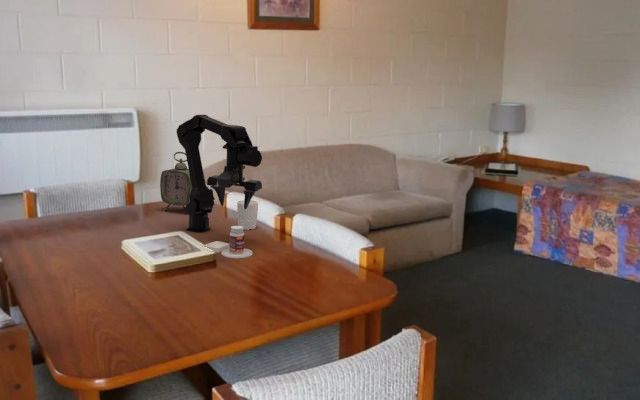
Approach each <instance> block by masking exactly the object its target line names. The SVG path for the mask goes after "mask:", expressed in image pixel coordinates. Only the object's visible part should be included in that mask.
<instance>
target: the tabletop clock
mask: <svg viewBox="0 0 640 400" xmlns="http://www.w3.org/2000/svg"><path fill="white" fill-rule="evenodd" d="M178 154H183V155H184V156H186V152H183V151H176V152H175V153H173V159H174V160H175V161H176V162H177V163H176V164H175V166H174V168H171V169H166V170H163V171H162V172H161V174H160V183H159V184H160V185H159V187H160V188H159V191H160V198H161V200H162V202H164V203H165V204H168V205H167V206H166V207H164V211H166V212H167V211H169V208H170V206H172V205H173V206H180V207H181V206H182V208H181V209H182V211H185V207H186V206H187V205H188V203H189V202H190V193H191V190H192V184H191V178H190V173H189V168H188V165H187V164H186V162H187V159H184V160H183V158H179V159H177V158H176V155H178Z"/></svg>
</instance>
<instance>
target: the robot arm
mask: <svg viewBox="0 0 640 400" xmlns="http://www.w3.org/2000/svg"><path fill="white" fill-rule="evenodd" d="M206 130H207V131H209V132H211V133H214V134H216V135H218V136H220V138H221V140H222V141H223V142H225V144H224V145H222V149H225V150H226V165H225V166H224V168H223V172H221V173H220V174H217V175H212V176H208V178H207V180H206V178H205V175H204V169H203V163H202V158H201V153H200V148H199V147H200V144H201V142H202V134H203V133H204V132H205V131H206ZM176 136H177V140H178V143H179V144H180V145H181V146H182V148H183V149H184V151H185V152H184V153H186V155H185V156H186V157H185V158H186V160H187V161H186V162H187V169H189V173H190V178H191V184H192V190H191V193H190V202H189V203H188V205H187V206H186V205H185V206H184V207H185V210H184V213H185V215H188V227H187V228H186V231H191V232H197V233H203V232H205V231H208V230H210V229H211V227H210V217H209V214H212V211H213V207H214V205H215V200H216V199H215V197H214V191H215V193H216V195H217V198H218V201H219V204H220V206H221V207H223V206H224V205H225V195H226V188H227V189H229V188H231V187H232V186H236V187H242V188H244V190H243V194H244V199H243V200H244V209H247V207H248V205H249V203H250V201H251V200H252V199H253V197H254V195H255V193H256V192H259V190H262V188H263V184H262V181H261V180H257V179H249V180H247V181H246V180H245V178H246V177H244V169H246V166H248V167H254V168H256V167H259V166H260V165H261V164H262V161H263V156H262V152H261V151H260V150H258V148H259V147H258V146H256V145H255V146H254V145H253V143H252V140H251V139H250V135H249V134H248V131H247V128H246V127H245V126H243V125H237V124H236V125H234V124H227V123H224V122H222V121H220V120H217V119H215V118H214V117H211V116H209V115H207V114H195V115H194V116H192V117H191V118H190V119H188V120H186V121H184V122H183V123H181V124H179V125H178V127H177V128H176ZM208 186H209V187H210V188H209V187H208Z"/></svg>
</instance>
